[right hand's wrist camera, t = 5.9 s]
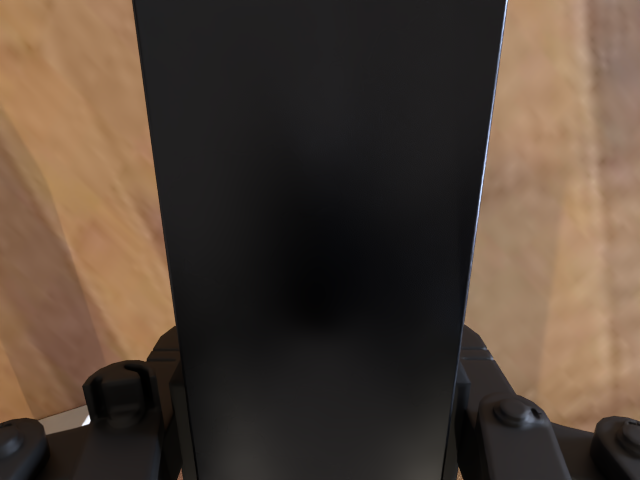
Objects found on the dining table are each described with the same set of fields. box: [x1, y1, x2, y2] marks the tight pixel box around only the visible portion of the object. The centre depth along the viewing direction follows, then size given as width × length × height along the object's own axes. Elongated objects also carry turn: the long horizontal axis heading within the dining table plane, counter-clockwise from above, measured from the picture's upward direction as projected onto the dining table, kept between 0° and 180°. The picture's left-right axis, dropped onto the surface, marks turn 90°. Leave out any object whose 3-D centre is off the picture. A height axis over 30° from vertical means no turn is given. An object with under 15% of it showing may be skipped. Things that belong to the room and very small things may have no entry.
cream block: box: [38, 405, 91, 435], centre depth 27 cm, size 5×5×5 cm
